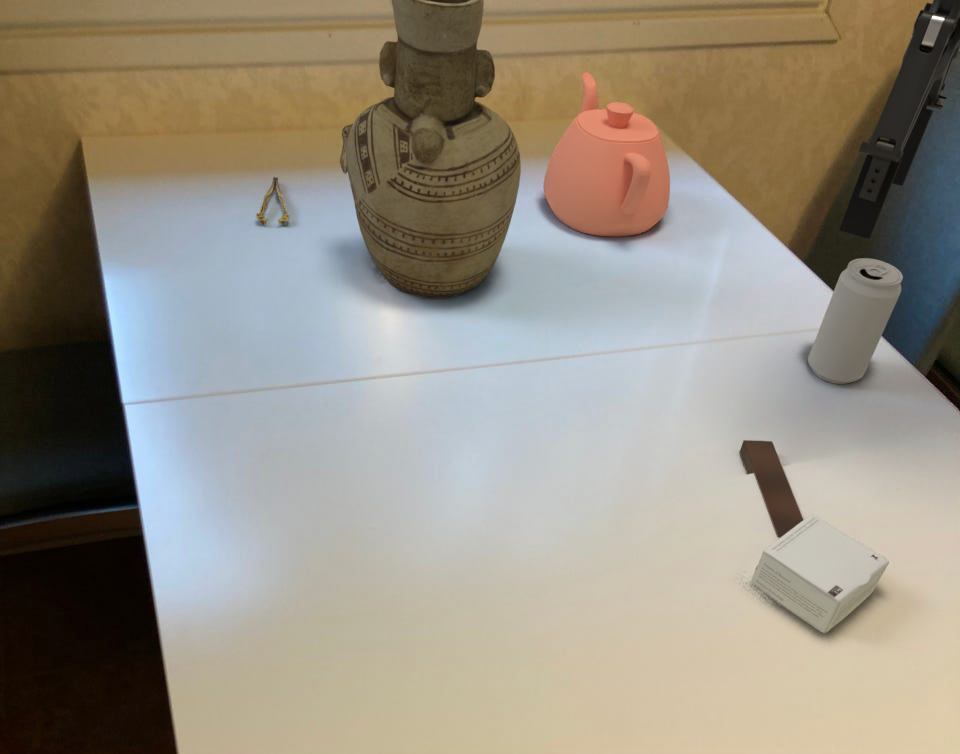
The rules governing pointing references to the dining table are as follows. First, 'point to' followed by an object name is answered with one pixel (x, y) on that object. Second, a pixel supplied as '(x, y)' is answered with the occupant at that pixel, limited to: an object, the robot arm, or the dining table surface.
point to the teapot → (608, 170)
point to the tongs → (265, 202)
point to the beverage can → (855, 320)
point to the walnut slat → (772, 484)
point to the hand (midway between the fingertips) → (872, 206)
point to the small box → (818, 572)
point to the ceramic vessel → (433, 155)
